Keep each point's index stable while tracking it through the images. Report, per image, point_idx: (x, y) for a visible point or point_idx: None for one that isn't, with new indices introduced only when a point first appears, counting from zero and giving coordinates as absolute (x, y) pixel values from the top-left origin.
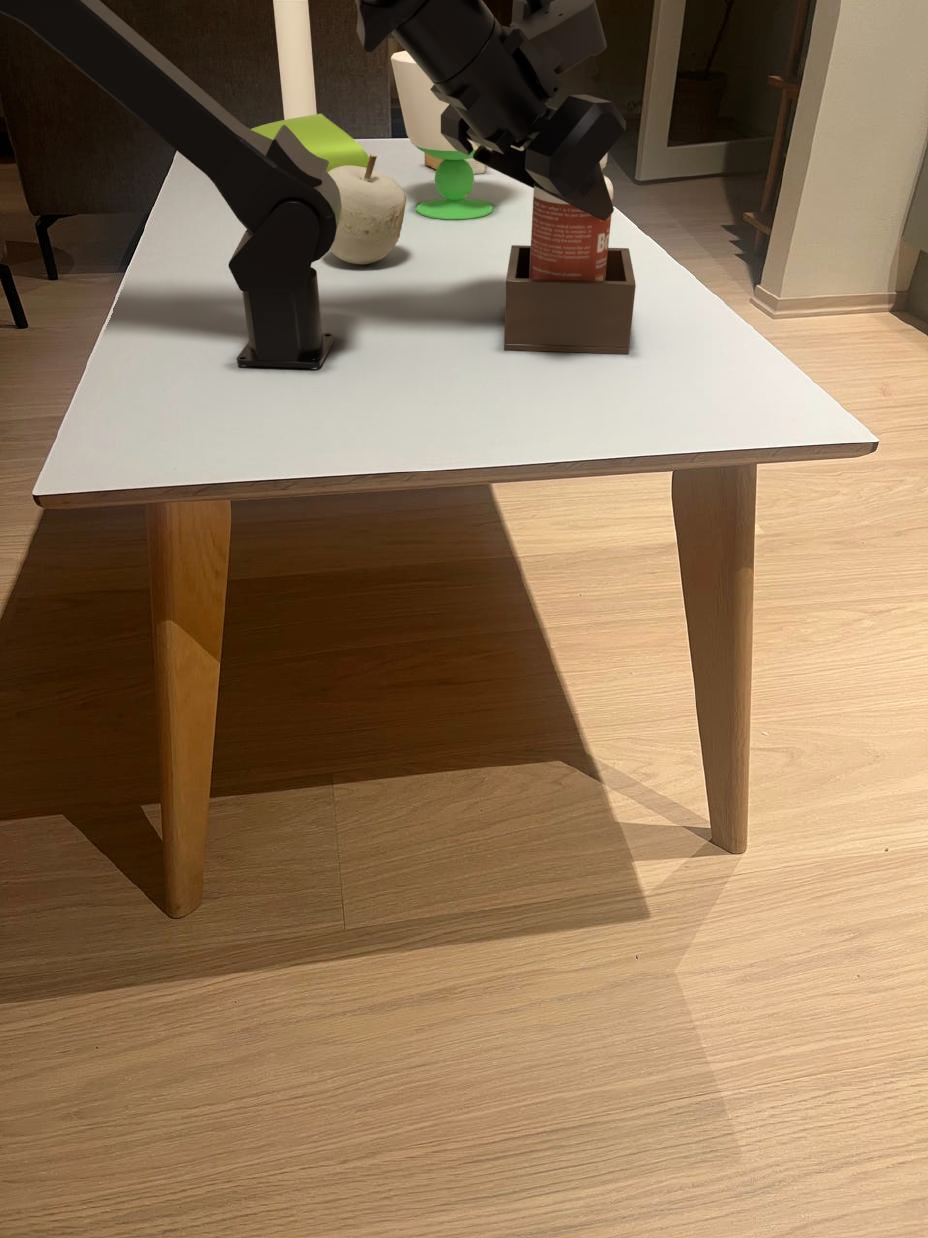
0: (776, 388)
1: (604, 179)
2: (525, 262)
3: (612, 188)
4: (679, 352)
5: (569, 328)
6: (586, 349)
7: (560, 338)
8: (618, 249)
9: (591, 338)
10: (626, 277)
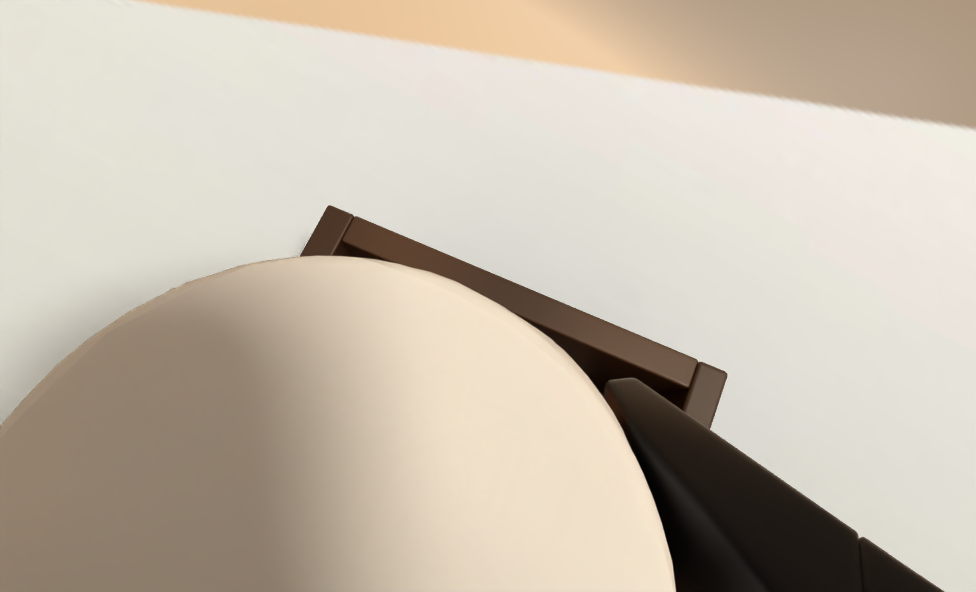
0: (913, 183)
1: (831, 514)
2: None
3: (524, 321)
4: (671, 271)
5: None
6: None
7: None
8: (329, 245)
9: None
10: (651, 369)
